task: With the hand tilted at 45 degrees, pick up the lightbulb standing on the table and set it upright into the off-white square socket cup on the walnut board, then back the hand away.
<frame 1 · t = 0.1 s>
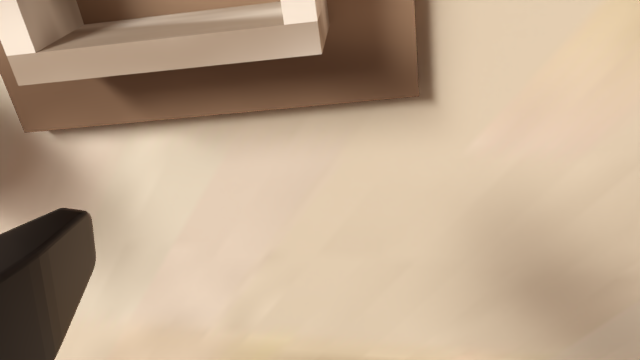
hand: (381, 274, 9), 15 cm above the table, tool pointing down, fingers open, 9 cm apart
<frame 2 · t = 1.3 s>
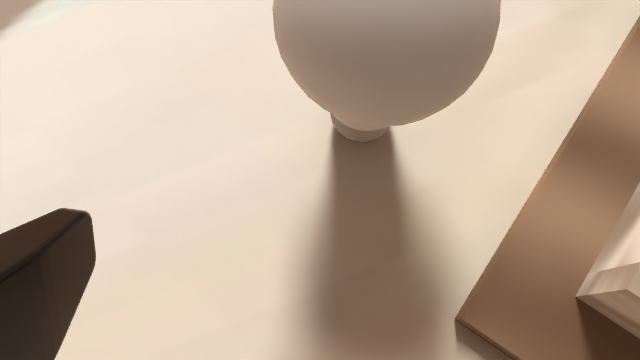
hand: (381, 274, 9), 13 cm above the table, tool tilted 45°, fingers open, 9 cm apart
lightbulb: (359, 120, 24), on the table
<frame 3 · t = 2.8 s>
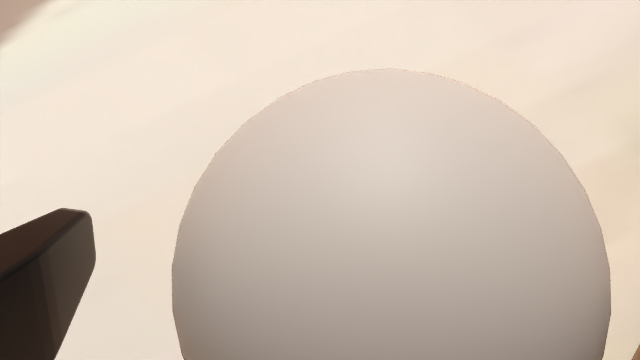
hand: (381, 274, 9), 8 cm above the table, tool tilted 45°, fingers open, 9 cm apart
lightbulb: (347, 306, 16), on the table
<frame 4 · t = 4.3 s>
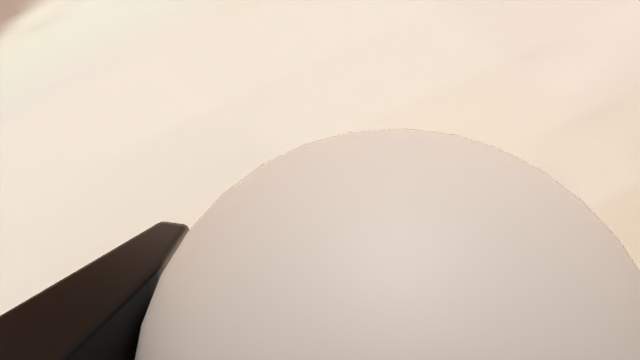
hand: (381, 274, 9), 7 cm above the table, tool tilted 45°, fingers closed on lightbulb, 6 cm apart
lightbulb: (345, 356, 15), on the table, touching gripper
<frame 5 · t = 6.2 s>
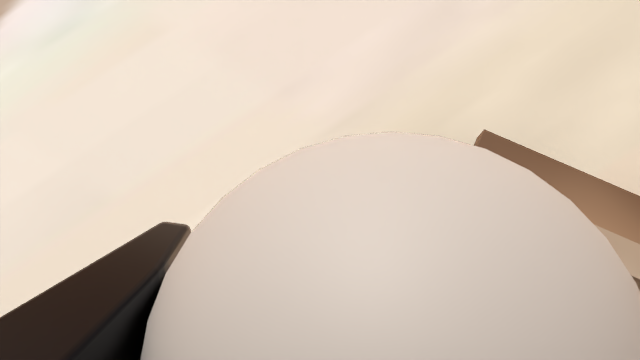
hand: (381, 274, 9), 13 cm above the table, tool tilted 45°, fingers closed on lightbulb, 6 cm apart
lightbulb: (369, 354, 15), point 6 cm above the table, touching gripper
when the fingers open (9 cm above the table, at t = 8.2 s): lightbulb stays where it is, resting on socket board.
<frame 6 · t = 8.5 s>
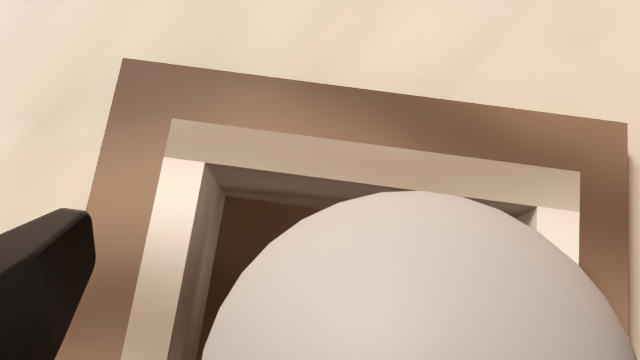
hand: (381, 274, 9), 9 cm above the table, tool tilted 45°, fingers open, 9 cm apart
socket board: (340, 351, 17), on the table
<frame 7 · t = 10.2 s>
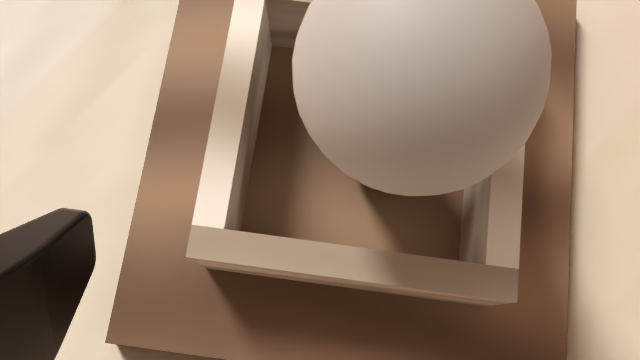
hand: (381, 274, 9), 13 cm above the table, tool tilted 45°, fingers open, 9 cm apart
socket board: (358, 161, 23), on the table
lightbulb: (379, 164, 22), point 1 cm above the table, touching socket board
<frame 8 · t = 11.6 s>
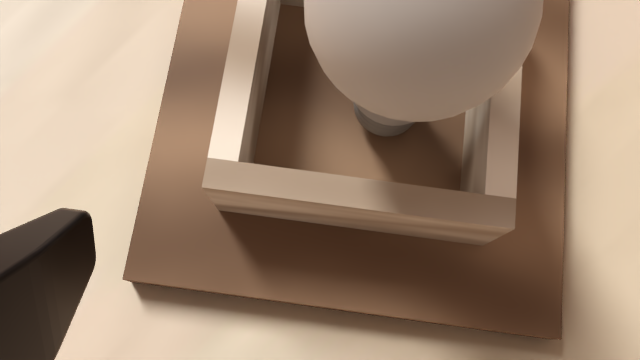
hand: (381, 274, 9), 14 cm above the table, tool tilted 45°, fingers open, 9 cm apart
socket board: (362, 114, 24), on the table
lightbulb: (383, 114, 23), point 1 cm above the table, touching socket board
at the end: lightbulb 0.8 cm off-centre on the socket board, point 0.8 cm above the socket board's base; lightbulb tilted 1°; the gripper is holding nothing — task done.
